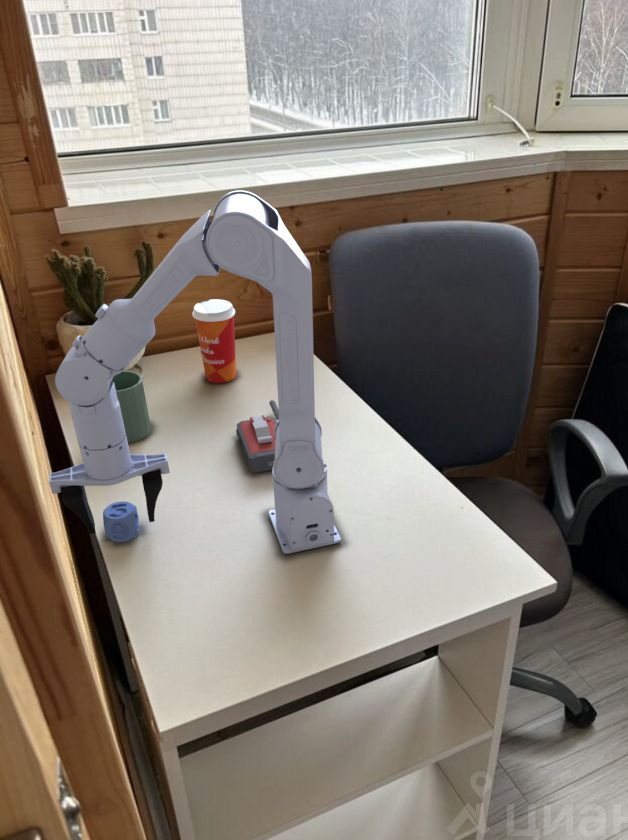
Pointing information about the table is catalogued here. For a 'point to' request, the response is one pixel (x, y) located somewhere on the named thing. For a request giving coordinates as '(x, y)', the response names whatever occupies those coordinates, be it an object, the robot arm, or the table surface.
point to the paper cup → (216, 339)
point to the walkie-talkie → (259, 440)
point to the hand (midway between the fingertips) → (122, 523)
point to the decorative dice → (121, 521)
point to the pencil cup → (132, 405)
